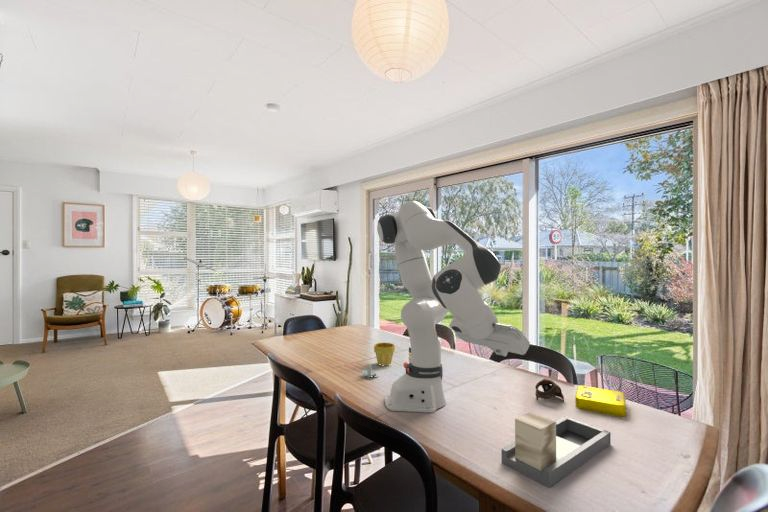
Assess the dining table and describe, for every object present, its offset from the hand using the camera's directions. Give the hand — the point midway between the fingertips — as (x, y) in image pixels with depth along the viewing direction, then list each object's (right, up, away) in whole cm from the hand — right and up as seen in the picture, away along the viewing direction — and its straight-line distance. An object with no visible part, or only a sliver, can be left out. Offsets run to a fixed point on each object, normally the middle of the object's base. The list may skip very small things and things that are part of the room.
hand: (502, 353), depth 98 cm
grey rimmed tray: (+15, -27, 0) cm, 31 cm away
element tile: (+46, -28, +31) cm, 62 cm away
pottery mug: (+30, -28, +38) cm, 56 cm away
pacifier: (-38, -28, +64) cm, 80 cm away
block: (+6, -25, -7) cm, 27 cm away
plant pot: (-32, -28, +82) cm, 92 cm away
